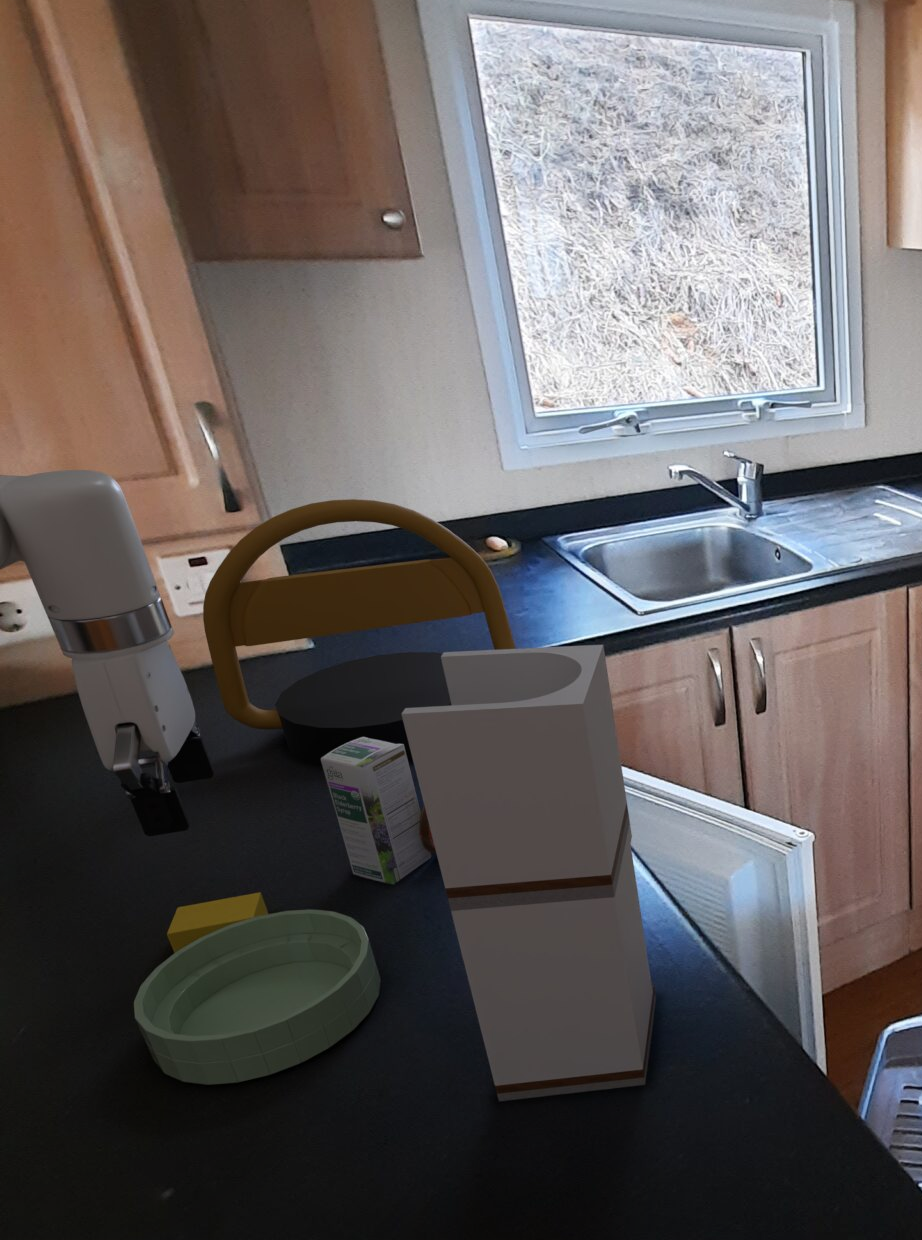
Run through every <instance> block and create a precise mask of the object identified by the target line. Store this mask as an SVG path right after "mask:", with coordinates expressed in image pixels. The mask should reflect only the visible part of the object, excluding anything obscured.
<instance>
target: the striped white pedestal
mask: <svg viewBox="0 0 922 1240" xmlns="http://www.w3.org/2000/svg"><path fill="white" fill-rule="evenodd" d="M441 660H442V664H443V669H444V673H445V678H446V682H447V687H448V691H449V695H450V700H451V704H452V706H435V707H417V708H405V709H404V711H403V712H402V718H403V722H404V726H405V730H406V734H407V738H408V742H409V746H410V750H411V754H412V758H413V760H412V761H413V766H414V769H415V773H416V779H417V782H418V786H419V790H420V793H421V798H422V801H423V805H424V806H425V810H426V814H427V818H428V822H429V826H430V830H431V834H432V838H433V842H434V846H435V850H436V853H437V854H436V857H437V861H438V865H439V869H440V873H441V877H442V881H443V885H444V889H445V893H446V897H447V901H448V905H449V909H450V912H451V917H452V921H453V925H454V929H455V932H456V937H457V940H458V944H459V948H460V952H461V956H462V961H463V964H464V969H465V972H466V976H467V980H468V985H469V988H470V992H471V997H472V1001H473V1004H474V1008H475V1012H476V1016H477V1019H478V1024H479V1028H480V1032H481V1036H482V1040H483V1044H484V1048H485V1051H486V1056H487V1059H488V1064H489V1068H490V1072H491V1076H492V1080H493V1084H494V1087H495V1091H496V1095H497V1099H498V1100H497V1101H498V1102H507V1101H514V1100H524V1099H532V1098H540V1097H541V1098H542V1097H548V1096H558V1095H568V1094H576V1093H584V1092H592V1091H602V1090H612V1089H620V1088H629V1087H636V1086H645V1085H646V1083H647V1082H646V1081H647V1074H648V1073H647V1072H648V1065H649V1058H650V1049H651V1041H652V1035H653V1033H652V1032H653V1026H654V1020H655V1019H654V1017H655V1010H656V1001H657V995H656V989H655V988H656V987H655V983H652V978H651V972H650V965H649V964H650V963H649V958H648V951H647V944H646V939H645V930H644V924H643V917H642V911H641V904H640V897H639V891H638V885H637V878H636V872H635V865H634V857H633V852H632V845H631V843H632V839H633V834H632V833H633V832H632V827H631V821H630V820H631V819H630V815H629V807H628V801H627V795H626V794H627V793H626V787H625V780H624V773H623V767H622V762H621V761H622V760H621V752H620V748H619V741H618V733H617V725H616V720H615V713H614V706H613V700H612V693H611V687H610V681H609V673H608V666H607V660H606V653H605V647H604V644H590V645H589V644H587V645H571V646H570V645H569V646H567V645H565V646H547V647H545V646H544V647H526V648H525V647H524V648H516V649H501V650H494V649H483V650H465V651H464V650H462V651H444V652H443V654H442V656H441Z"/></svg>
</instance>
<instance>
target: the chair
mask: <svg viewBox="0 0 922 1240" xmlns="http://www.w3.org/2000/svg"><path fill="white" fill-rule="evenodd" d="M351 522H361V523H376V524H382V525H388V526H394V527H396V528H399V529H402V530H405V531H408V532H410V533H413V534H414V535H416V536H419V537H421V538H423V539H425V540H426V541H428V542H430V543H431V544H433V545H435V547H437V548H438V549H440V550H441V551H442V552H444V553H445V554H446V555H447V556H449V557H444V558H435V559H429V558H428V559H427V558H426V559H419V560H410V561H401V562H394V563H393V562H392V563H384V564H376V565H367V566H358V567H351V568H341V569H332V570H325V571H323V570H322V571H317V572H316V571H315V572H307V573H299V574H289V575H283V576H282V575H280V576H273V577H269V578H264V579H256V580H248V581H242V580H243V579H244V577H245V576H246V575H247V573H248V571H249V570H250V569H251V567H252V566H253V565H254V564H255V563H256V562H257V561H258V559H259V558H260V557H261V556H263V555H264V554H266V552H268V551H269V550H270V549H271V548H272V547H274V546H275V545H277V544H278V543H281V542H282V541H283V540H285V539H288V538H289V537H292V536H293V535H295V534H298V533H300V532H303V531H305V530H310V529H311V528H315V527H318V526H324V525H330V524H331V525H332V524H336V523H351ZM481 613H483V614H484V618H485V620H486V624H487V628H488V631H489V635H490V639H491V642H492V646H493V650H501V649H517V648H516V644H515V639H514V637H513V632H512V629H511V625H510V621H509V618H508V613H507V610H506V606H505V602H504V600H503V596H502V592H501V589H500V587H499V584H498V581H497V579H496V578H495V576H494V573H493V571H492V570H491V568H490V567H489V565H488V564H487V562H486V561H485V560H484V558H482V557H481V555H480V554H479V553H478V552H477V551H476V550H475V549H473V547H471V546H470V545H469V544H468V543H467V542H466V541H464V540H463V539H462V538H461V537H459V536H458V535H457V534H455V533H453V532H452V531H451V529H448V528H447V527H445V525H442V524H441V523H439V522H437V521H436V520H434V519H433V518H431V517H429V516H427V515H424V514H423V513H420V512H418V511H416V510H414V509H411V508H408V507H405V506H402V505H398V504H396V503H391V502H385V501H379V500H374V499H372V500H371V499H356V498H355V499H354V498H351V499H350V498H349V499H329V500H324V501H319V502H318V501H317V502H312V503H307V504H304V505H302V506H301V505H300V506H298V507H294V508H291V509H288V510H286V511H284V512H282V513H280V514H277V515H274V516H273V517H270V518H269V519H267V520H266V521H264V522H262V523H261V524H259V525H257V526H255V527H254V528H253V529H251V531H249V532H248V533H247V534H246V535H244V536H243V537H242V538H241V539H240V540H239V541H238V542H237V543H236V544H235V545H234V546H233V548H231V550H230V551H229V552H228V553H227V554H226V556H225V557H224V559H223V560H222V562H221V563H220V564H219V566H218V567H217V569H216V571H215V572H214V574H213V576H212V577H211V579H210V581H209V583H208V586H207V588H206V590H205V593H204V600H203V606H202V620H203V628H204V634H205V638H206V643H207V647H208V651H209V655H210V660H211V662H212V667H213V671H214V676H215V679H216V683H217V686H218V691H219V694H220V697H221V698H220V699H221V701H222V704H223V707H224V710H225V711H226V714H228V716H230V717H231V718H232V719H234V720H236V722H239V723H240V724H242V725H244V726H247V727H249V728H252V729H257V730H282V732H283V735H284V737H285V741H286V744H287V747H288V749H289V753H290V755H291V756H292V757H294V758H296V759H298V760H299V761H300V762H302V763H305V764H306V765H311V766H316V767H321V768H323V766H322V763H321V758H322V757H323V756H325V755H326V754H328V753H329V752H331V751H332V750H334V749H336V748H338V747H339V746H341V745H344V744H346V743H348V742H350V741H353V740H355V739H358V738H361V737H367V738H371V739H376V740H380V741H386V742H390V743H394V744H404V747H405V751H406V755H407V759H408V762H410V761H413V758H412V754H411V750H410V746H409V742H408V738H407V734H406V730H405V726H404V722H403V718H402V712H403V711H404V709H405V708H417V707H435V706H452V704H451V700H450V695H449V691H448V687H447V682H446V678H445V673H444V669H443V664H442V660H441V656H442V654H443V653H444V652H443V653H442V652H435V651H432V652H431V651H429V652H428V651H427V652H425V651H423V652H422V651H406V652H398V653H397V652H395V653H387V654H386V653H385V654H377V655H372V656H368V657H362V658H357V659H352V660H347V661H345V662H342V663H339V664H335V665H332V666H329V667H325V668H322V669H319V670H318V671H315V672H313V673H311V674H308V675H306V676H304V677H302V678H300V679H298V680H296V681H295V682H294V683H292V684H290V685H289V687H287V688H286V689H284V690H283V691H281V692H280V694H279V696H278V698H277V700H276V701H275V704H274V705H275V708H276V709H262V708H258V707H257V706H255V705H254V704H252V703H251V702H250V700H249V697H248V692H247V689H246V685H245V681H244V677H243V673H242V668H241V664H240V661H239V657H238V653H237V647H255V646H261V645H269V644H275V643H283V642H290V641H297V640H298V641H299V640H305V639H312V638H319V637H325V636H333V635H339V634H348V633H354V632H355V633H356V632H362V631H368V630H375V629H383V628H391V627H396V626H397V627H398V626H403V625H405V626H406V625H411V624H418V623H425V622H433V621H440V620H448V619H454V618H462V617H468V616H471V615H473V614H481Z"/></svg>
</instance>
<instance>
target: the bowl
mask: <svg viewBox="0 0 922 1240" xmlns="http://www.w3.org/2000/svg"><path fill="white" fill-rule="evenodd" d="M381 978H382V977H381V975H380V972H379V969H378V966H377V963H376V959H375V956H374V952H373V949H372V945H371V942H370V939H369V937H368V934H367V932H366V929H365V927H364V925H362V924H360V923H359V922H358V921H357V920H356V919H354V918H353V917H351V916H348V915H345V914H343V913H339V912H337V911H331V910H323V909H313V908H312V909H295V910H294V909H293V910H284V911H278V912H273V913H268V914H267V915H262V916H257V917H254V918H251V919H247V920H244V921H241V922H238V923H234V924H231V925H228V926H226V927H224V928H222V929H219V930H217V931H215V932H212V933H210V934H208V935H205V936H203V937H201V938H199V939H198V940H196V941H194V942H192V943H191V944H189V945H187V946H186V947H184V948H182V949H180V950H179V951H177V952H176V953H174V952H173V954H171V955H170V956H169V957H167V959H165V960H164V961H162V963H160V964H159V965H158V966H156V967H155V968H154V969H153V971H151V973H150V974H149V975H148V976H147V977H146V978H145V980H144V981H143V982H142V983H141V984H140V986H139V989H138V991H137V993H136V996H135V998H134V1001H133V1012H134V1013H133V1014H134V1019H135V1022H136V1023H137V1026H138V1029H139V1031H140V1033H141V1036H142V1037H143V1040H144V1042H145V1044H146V1045H147V1048H148V1051H149V1053H150V1056H151V1057H152V1060H153V1062H154V1063H155V1064H156V1065H157V1066H158V1068H159V1069H160V1070H161V1071H162V1073H164V1074H165V1075H167V1076H169V1077H171V1078H174V1079H176V1080H178V1081H180V1082H183V1083H192V1084H199V1085H206V1086H208V1085H210V1086H212V1085H225V1084H236V1083H241V1082H245V1081H246V1082H247V1081H250V1080H255V1079H259V1078H263V1077H268V1076H270V1075H274V1074H276V1073H279V1072H282V1071H284V1070H287V1069H289V1068H292V1067H294V1066H298V1065H299V1064H302V1063H304V1062H306V1061H308V1060H309V1059H312V1058H313V1057H315V1056H317V1055H319V1054H321V1053H323V1052H325V1051H326V1050H328V1049H330V1048H331V1047H333V1046H334V1045H335V1044H337V1043H338V1042H339V1041H341V1040H342V1039H343V1038H345V1037H347V1035H349V1034H351V1033H352V1032H353V1031H354V1030H355V1029H356V1028H357V1027H358V1026H359V1025H360V1024H361V1022H363V1021H364V1020H365V1018H366V1017H367V1016H368V1015H369V1014H370V1012H371V1011H372V1009H373V1007H374V1005H375V1003H376V1002H377V999H378V998H379V995H380V989H381V982H382V981H381V980H382V979H381Z"/></svg>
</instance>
